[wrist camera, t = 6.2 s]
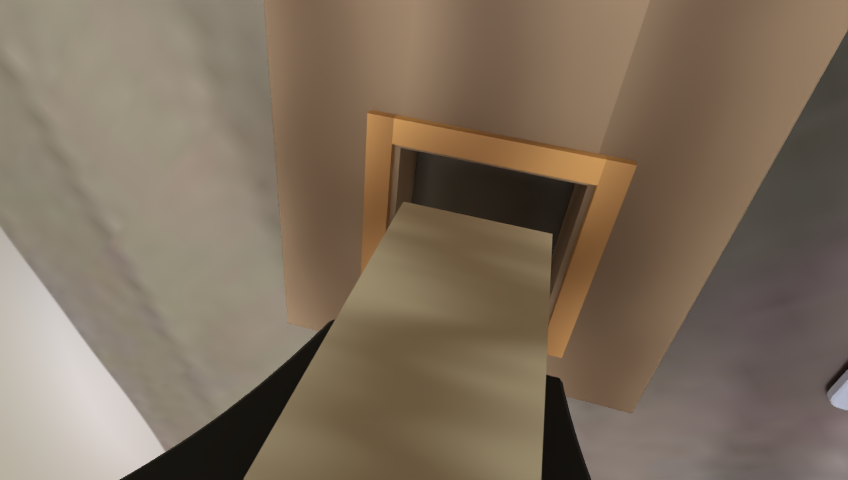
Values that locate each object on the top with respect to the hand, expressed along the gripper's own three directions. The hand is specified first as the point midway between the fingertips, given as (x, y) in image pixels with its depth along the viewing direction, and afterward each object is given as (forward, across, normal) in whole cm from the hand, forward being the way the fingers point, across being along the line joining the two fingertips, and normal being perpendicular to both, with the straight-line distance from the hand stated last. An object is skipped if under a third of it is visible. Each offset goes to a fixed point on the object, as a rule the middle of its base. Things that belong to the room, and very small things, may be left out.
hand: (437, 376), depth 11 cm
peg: (+3, 0, 0) cm, 4 cm away
